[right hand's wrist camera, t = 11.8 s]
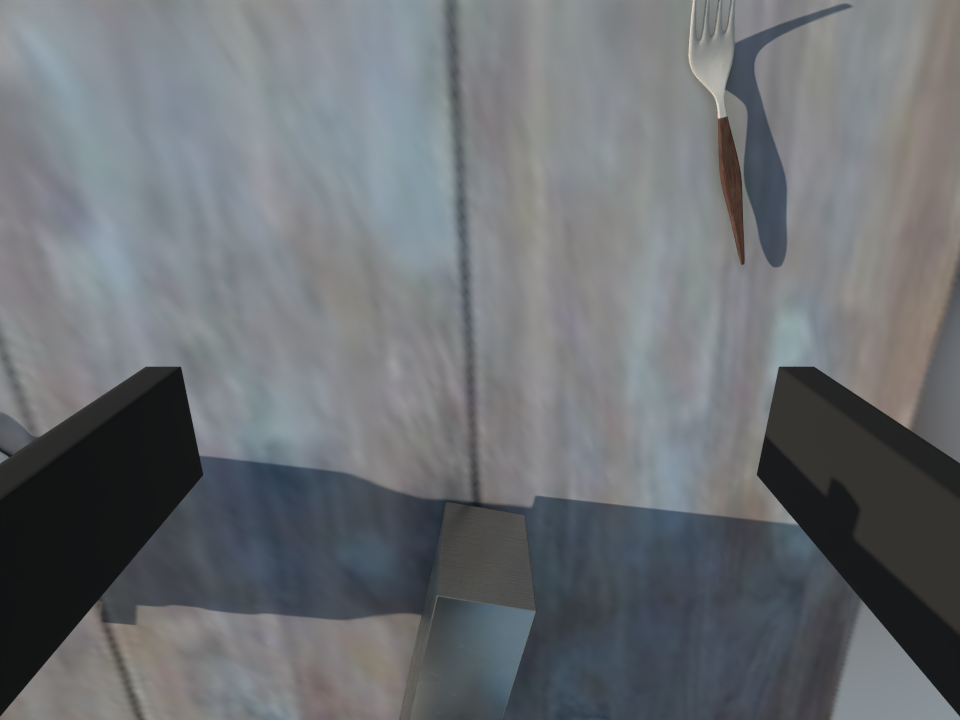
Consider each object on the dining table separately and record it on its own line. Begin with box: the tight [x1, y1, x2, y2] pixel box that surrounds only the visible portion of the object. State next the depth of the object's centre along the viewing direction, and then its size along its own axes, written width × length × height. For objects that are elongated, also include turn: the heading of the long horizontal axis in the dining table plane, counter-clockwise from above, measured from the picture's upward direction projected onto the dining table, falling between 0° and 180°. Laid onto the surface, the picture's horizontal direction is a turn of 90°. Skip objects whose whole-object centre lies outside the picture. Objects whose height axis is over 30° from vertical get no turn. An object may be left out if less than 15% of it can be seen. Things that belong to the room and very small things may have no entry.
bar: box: [399, 502, 536, 720], centre depth 42 cm, size 26×6×9 cm, turn 169°
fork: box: [689, 0, 744, 265], centre depth 33 cm, size 3×16×2 cm, turn 17°
